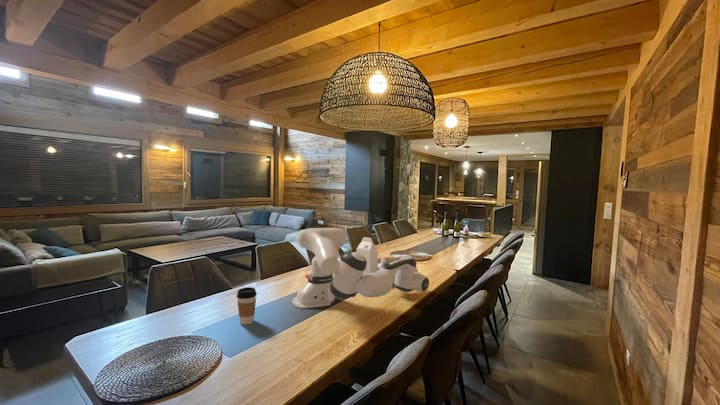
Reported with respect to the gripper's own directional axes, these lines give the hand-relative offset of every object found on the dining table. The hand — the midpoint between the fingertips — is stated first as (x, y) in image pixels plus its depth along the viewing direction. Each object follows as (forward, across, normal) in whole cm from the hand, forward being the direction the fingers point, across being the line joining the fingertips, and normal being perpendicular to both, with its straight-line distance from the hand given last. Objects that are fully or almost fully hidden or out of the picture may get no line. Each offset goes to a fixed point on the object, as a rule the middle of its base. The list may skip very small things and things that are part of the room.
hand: (391, 270), depth 184 cm
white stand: (+7, -1, -8) cm, 11 cm away
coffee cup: (-5, -85, -11) cm, 86 cm away
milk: (+26, -1, -11) cm, 29 cm away
